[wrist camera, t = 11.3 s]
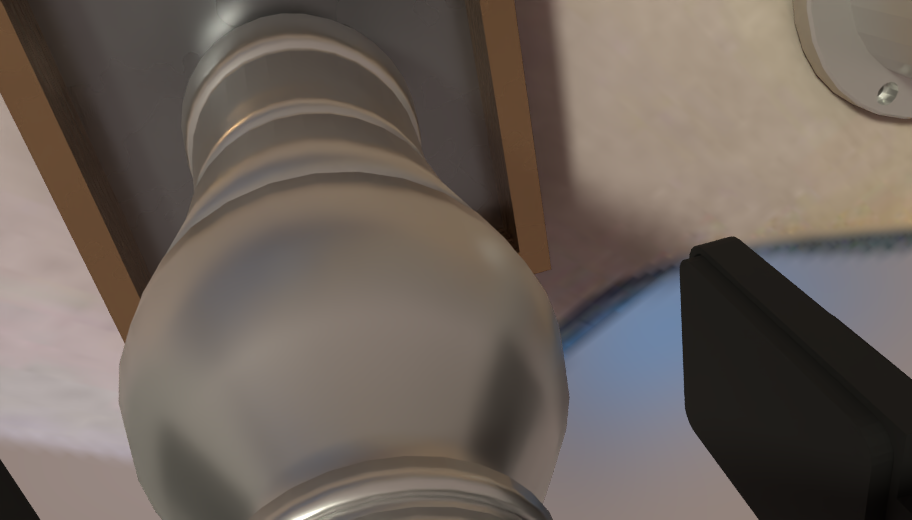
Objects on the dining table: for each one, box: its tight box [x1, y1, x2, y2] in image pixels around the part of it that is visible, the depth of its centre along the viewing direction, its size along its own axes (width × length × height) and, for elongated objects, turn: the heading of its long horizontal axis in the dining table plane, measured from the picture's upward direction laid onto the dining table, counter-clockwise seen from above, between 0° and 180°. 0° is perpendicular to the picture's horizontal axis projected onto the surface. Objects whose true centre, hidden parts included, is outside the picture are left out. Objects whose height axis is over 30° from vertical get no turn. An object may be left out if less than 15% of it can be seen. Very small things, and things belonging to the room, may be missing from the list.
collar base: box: [0, 0, 551, 343], centre depth 23 cm, size 14×14×4 cm
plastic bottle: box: [119, 13, 569, 520], centre depth 15 cm, size 6×7×20 cm
